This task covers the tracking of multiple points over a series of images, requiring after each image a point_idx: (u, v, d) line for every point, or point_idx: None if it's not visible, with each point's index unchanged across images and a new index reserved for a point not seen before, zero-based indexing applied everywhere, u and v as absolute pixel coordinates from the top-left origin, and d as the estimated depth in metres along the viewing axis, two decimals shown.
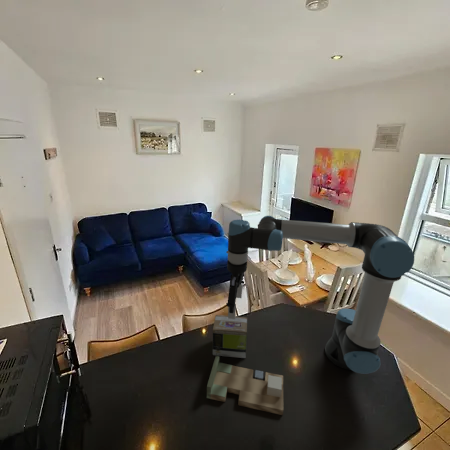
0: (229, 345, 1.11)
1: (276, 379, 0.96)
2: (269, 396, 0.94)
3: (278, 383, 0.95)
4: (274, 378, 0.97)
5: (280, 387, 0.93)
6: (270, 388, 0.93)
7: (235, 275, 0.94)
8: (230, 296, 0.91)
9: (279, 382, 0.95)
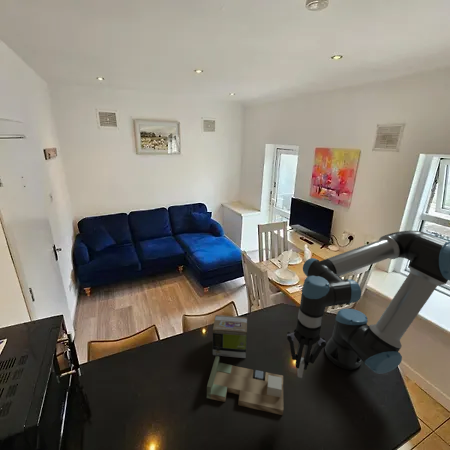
0: (229, 345, 1.11)
1: (276, 379, 0.96)
2: (269, 396, 0.94)
3: (278, 383, 0.95)
4: (274, 378, 0.97)
5: (280, 387, 0.93)
6: (270, 388, 0.93)
7: (296, 330, 0.86)
8: None
9: (279, 382, 0.95)
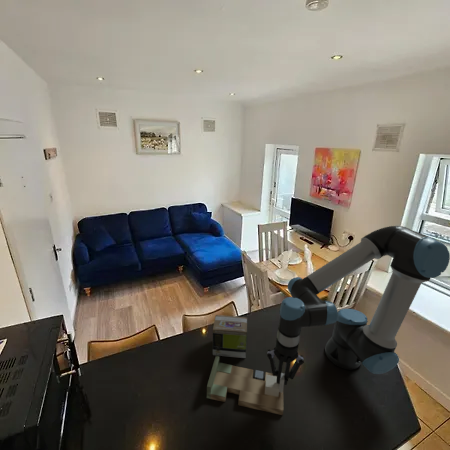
0: (229, 345, 1.11)
1: (274, 379, 0.96)
2: (269, 396, 0.94)
3: (276, 383, 0.95)
4: (272, 378, 0.97)
5: (278, 387, 0.93)
6: (268, 388, 0.94)
7: (275, 347, 0.90)
8: None
9: None
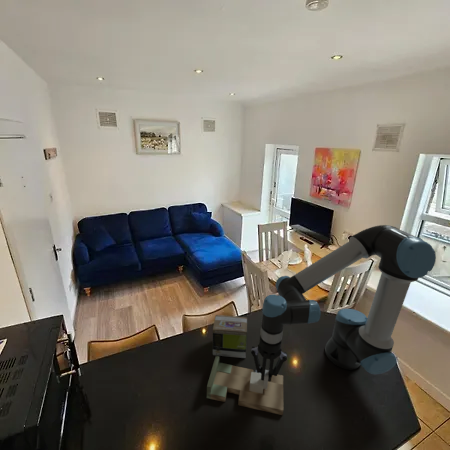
0: (229, 345, 1.11)
1: (259, 376, 0.97)
2: (269, 396, 0.94)
3: (261, 380, 0.96)
4: (257, 375, 0.98)
5: (262, 383, 0.94)
6: (252, 385, 0.95)
7: (259, 344, 0.91)
8: None
9: None
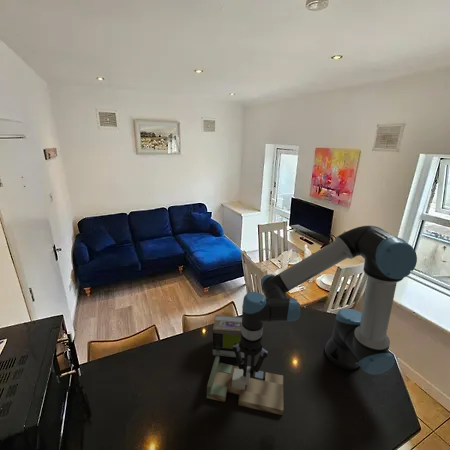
0: (229, 345, 1.11)
1: (241, 372, 0.99)
2: (269, 396, 0.94)
3: (243, 376, 0.97)
4: (240, 371, 0.99)
5: (244, 380, 0.96)
6: (235, 381, 0.96)
7: (240, 341, 0.92)
8: None
9: None
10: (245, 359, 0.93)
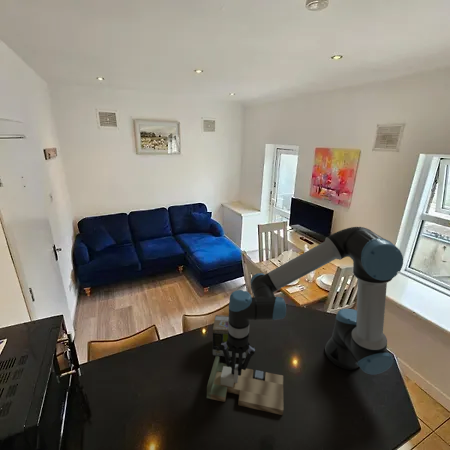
0: None
1: (230, 370, 0.99)
2: (269, 396, 0.94)
3: (231, 374, 0.98)
4: (229, 369, 1.00)
5: (232, 377, 0.97)
6: (223, 378, 0.97)
7: (227, 339, 0.93)
8: None
9: None
10: (233, 357, 0.94)
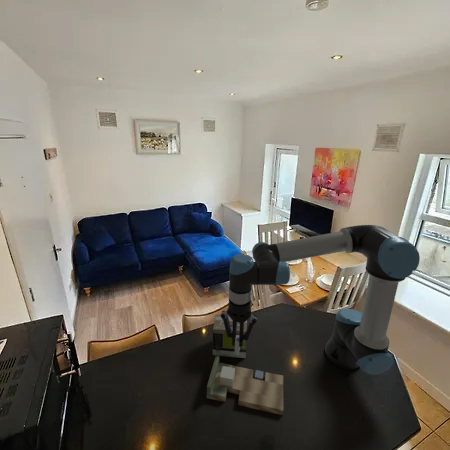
0: (229, 345, 1.11)
1: (229, 370, 1.00)
2: (269, 396, 0.94)
3: (231, 373, 0.98)
4: (228, 369, 1.00)
5: (232, 377, 0.97)
6: (222, 378, 0.97)
7: None
8: None
9: (231, 373, 0.98)
10: (234, 326, 0.89)
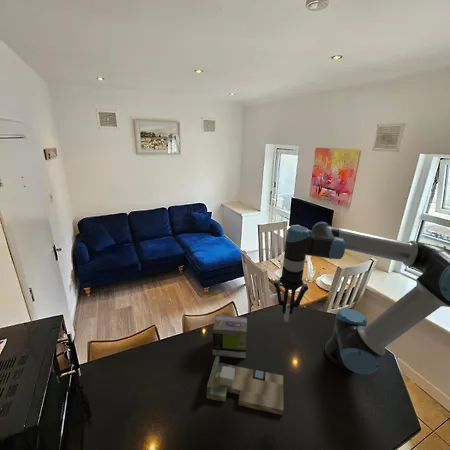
0: (229, 345, 1.11)
1: (229, 370, 1.00)
2: (269, 396, 0.94)
3: (231, 373, 0.98)
4: (228, 369, 1.00)
5: (232, 377, 0.97)
6: (222, 378, 0.97)
7: (281, 276, 0.96)
8: None
9: (231, 373, 0.98)
10: (286, 294, 0.97)
